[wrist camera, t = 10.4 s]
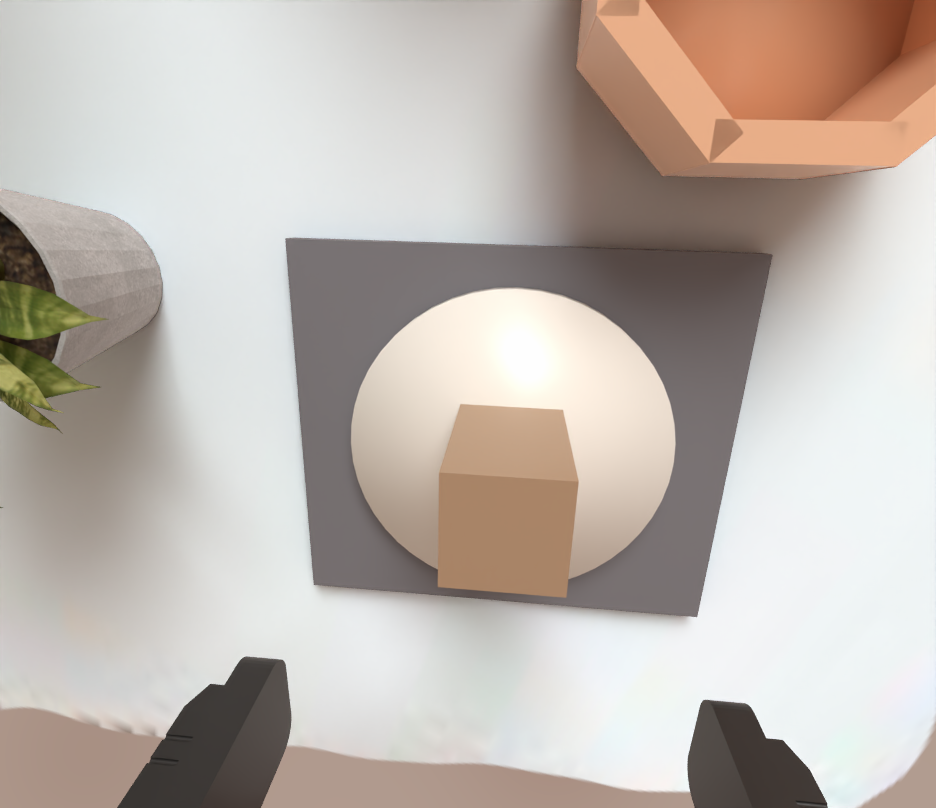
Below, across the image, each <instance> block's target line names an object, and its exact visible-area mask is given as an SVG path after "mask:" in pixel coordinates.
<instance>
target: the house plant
mask: <svg viewBox="0 0 936 808" xmlns="http://www.w3.org/2000/svg"><path fill="white" fill-rule="evenodd" d="M161 298H162V279H161V274H160V269H159V265H158V263H157V261H156V259H155V256H154V254H153V252H152V250H151V249H150V247H149V246H148V244H147V243H146V242H145V240H144V239H143V237H142V236H141V235H140V234H139V233H138V232H137V231H135V230H134V229H133V228H132V227H131V226H130V225H129V224H128V223H126V222H124V221H122V220H121V219H119V218H117V217H115V216H113V215H111V214H107V213H103V212H100V211H96V210H92V209H87V208H83V207H79V206H74V205H70V204H66V203H61V202H57V201H53V200H48V199H44V198H39V197H35V196H31V195H26V194H22V193H18V192H13V191H9V190H5V189H0V401H4V402H5V403H6V404H7V405H8V406H9V407H11V408H12V409H14V410H16V411H17V412H19V413H20V414H22V415H23V416H25V417H26V418H28V419H29V420H31V421H33V422H35V423H37V424H39V425H41V426H46V427H50V428H54V429H57V430H59V429H58V428H57V427H56V426H55V425H54V424H53V423H52V422H51V421H49V420H48V419H47V418H45V417H44V416H43V415H42V414H40V413H39V412H38V411H37V410H36V409H35V408H33V407H32V406H31V405H30V404H29V403H31V404H33V405H35V406H37V407H40V408H44V409H47V410H51V411H56V412H60V411H58V410H55V409H52V407H51V406H50V405H49V403H48V402H47V401H46V399H45V398H48V397H53V396H57V395H61V394H66V393H70V392H74V391H78V390H85V389H92V388H100V387H98V386H93V385H87V384H82V383H79V382H78V381H77V380H75V379H74V378H73V377H71V376H70V375H68V374H67V373H68V372H70V371H71V370H73V369H75V368H76V367H78V366H80V365H82V364H83V363H85V362H87V361H88V360H90V359H92V358H93V357H95V356H97V355H98V354H100V353H102V352H103V351H105V350H107V349H108V348H110V347H112V346H113V345H115V344H117V343H119V342H120V341H122V340H124V339H125V338H127V337H129V336H130V335H132V334H134V333H135V332H137V331H139V330H140V329H141V328H143V327H144V326H146V325H147V324H149V322H150V321H151V320H152V318H153V317H154V316H155V314H156V313H157V310H158V308H159V305H160V302H161ZM26 401H27V402H26ZM28 402H29V403H28ZM62 413H63V412H62ZM59 431H60V430H59ZM60 432H61V431H60ZM61 433H62V432H61ZM0 508H4V507H0Z"/></svg>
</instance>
